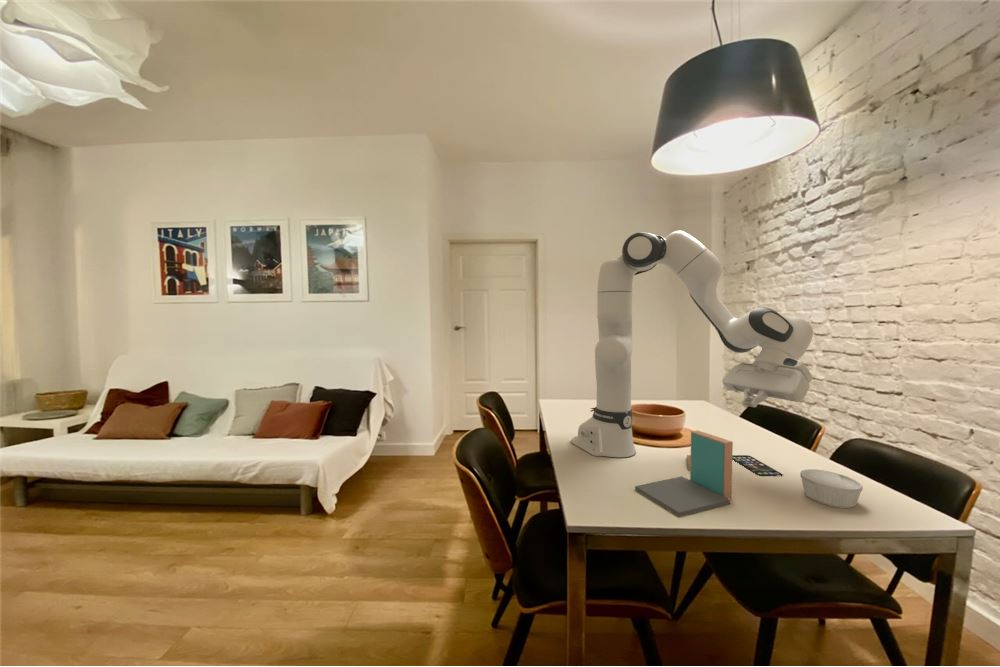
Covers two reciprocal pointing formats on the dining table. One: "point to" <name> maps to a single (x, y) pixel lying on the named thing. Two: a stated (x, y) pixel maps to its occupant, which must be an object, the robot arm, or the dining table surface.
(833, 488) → the ramekin
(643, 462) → the dining table surface
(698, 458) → the tile
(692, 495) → the mat
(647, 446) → the dining table surface
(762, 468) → the smartphone
